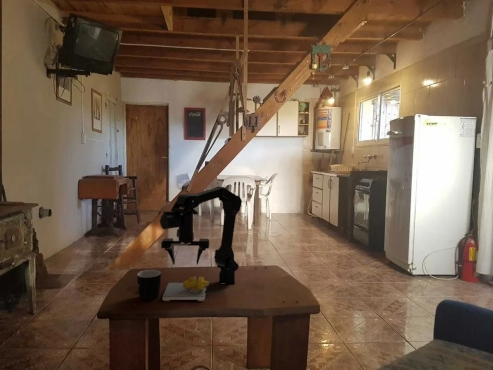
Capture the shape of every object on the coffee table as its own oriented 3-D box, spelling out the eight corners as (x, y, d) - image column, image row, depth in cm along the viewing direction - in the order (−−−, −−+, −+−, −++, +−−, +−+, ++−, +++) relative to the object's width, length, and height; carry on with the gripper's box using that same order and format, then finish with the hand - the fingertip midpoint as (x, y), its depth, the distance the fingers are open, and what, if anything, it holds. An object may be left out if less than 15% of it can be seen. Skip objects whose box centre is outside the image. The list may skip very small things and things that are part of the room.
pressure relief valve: (181, 279, 142) (206, 277, 142) (188, 273, 154) (211, 271, 154) (182, 293, 142) (207, 291, 141) (189, 286, 154) (212, 284, 153)
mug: (140, 294, 146) (139, 269, 145) (162, 294, 147) (162, 269, 146) (133, 306, 134) (132, 280, 133) (157, 306, 135) (157, 279, 134)
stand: (206, 287, 155) (206, 282, 154) (204, 302, 140) (204, 296, 139) (168, 288, 154) (168, 282, 153) (162, 302, 139) (162, 296, 138)
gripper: (210, 222, 153) (209, 258, 154) (165, 222, 152) (165, 258, 153) (209, 227, 142) (208, 266, 143) (160, 227, 141) (160, 266, 142)
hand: (185, 264), depth 146 cm, fingers open, 9 cm apart
